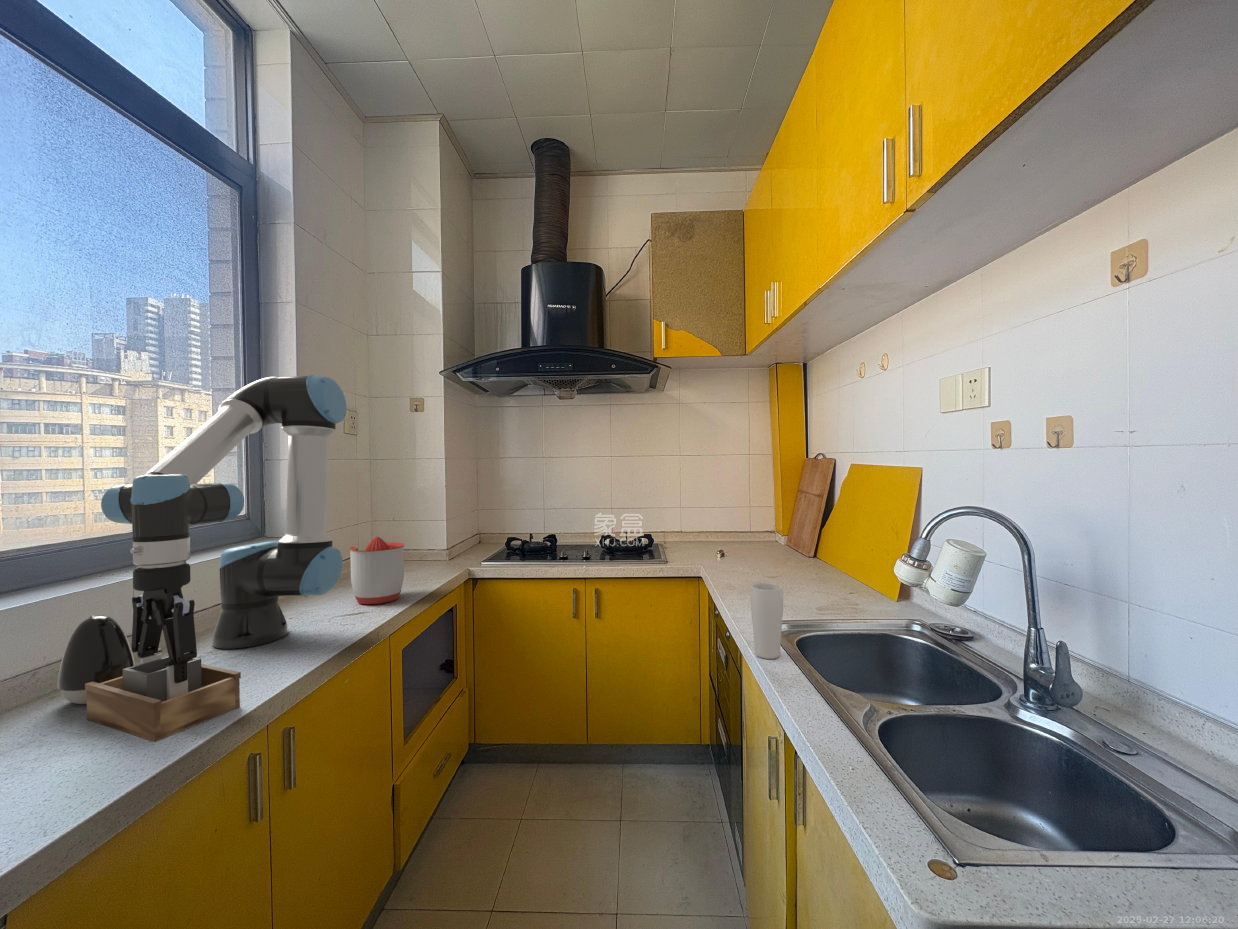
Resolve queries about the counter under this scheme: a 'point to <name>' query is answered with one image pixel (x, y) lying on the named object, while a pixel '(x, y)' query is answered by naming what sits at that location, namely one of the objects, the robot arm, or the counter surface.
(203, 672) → the large crate
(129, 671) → the box
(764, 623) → the drinking glass
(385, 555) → the citrus juicer
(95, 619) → the pump dispenser
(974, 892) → the counter surface
